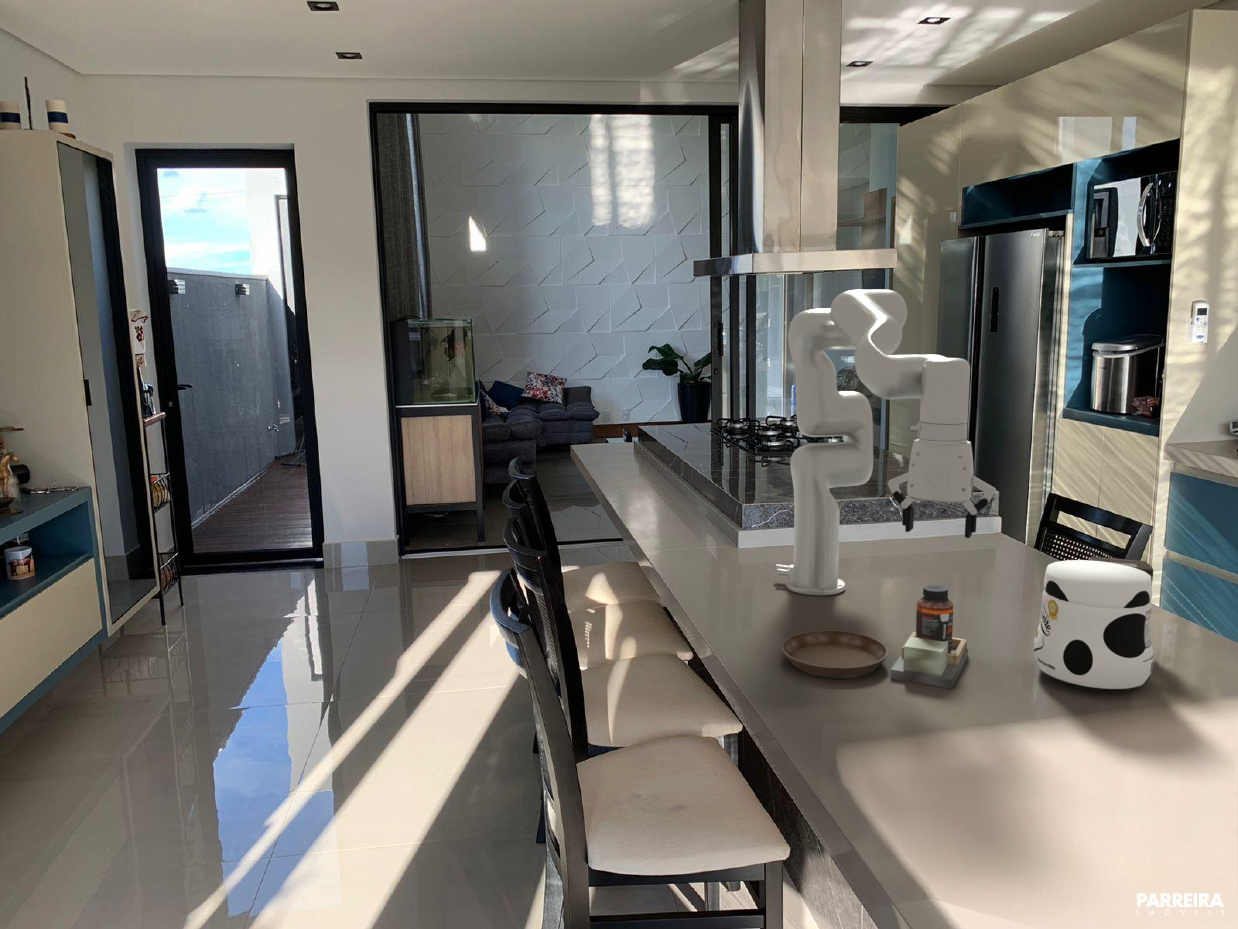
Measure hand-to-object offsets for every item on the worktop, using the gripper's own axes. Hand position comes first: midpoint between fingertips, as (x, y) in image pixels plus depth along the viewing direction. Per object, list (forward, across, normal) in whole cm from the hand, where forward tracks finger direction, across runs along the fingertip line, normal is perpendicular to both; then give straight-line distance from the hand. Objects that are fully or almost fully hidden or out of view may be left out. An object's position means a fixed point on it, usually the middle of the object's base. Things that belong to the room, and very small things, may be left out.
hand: (938, 533), depth 159 cm
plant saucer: (+23, -15, -9) cm, 29 cm away
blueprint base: (+22, 0, -4) cm, 23 cm away
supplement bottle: (+21, 0, 0) cm, 21 cm away
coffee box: (+22, +27, +18) cm, 40 cm away
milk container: (+22, +24, +2) cm, 33 cm away
